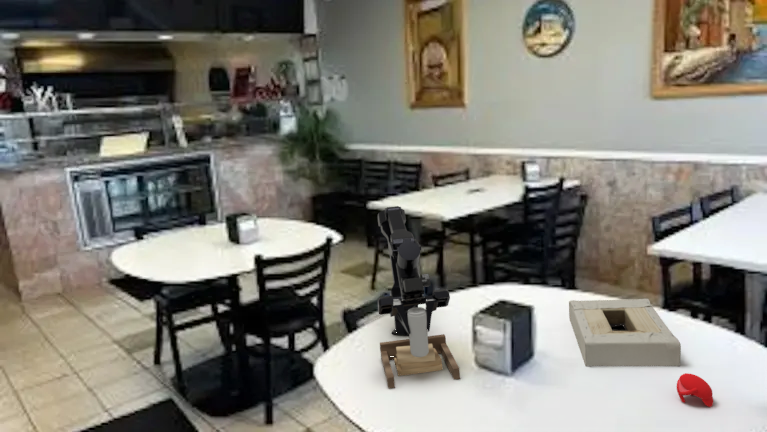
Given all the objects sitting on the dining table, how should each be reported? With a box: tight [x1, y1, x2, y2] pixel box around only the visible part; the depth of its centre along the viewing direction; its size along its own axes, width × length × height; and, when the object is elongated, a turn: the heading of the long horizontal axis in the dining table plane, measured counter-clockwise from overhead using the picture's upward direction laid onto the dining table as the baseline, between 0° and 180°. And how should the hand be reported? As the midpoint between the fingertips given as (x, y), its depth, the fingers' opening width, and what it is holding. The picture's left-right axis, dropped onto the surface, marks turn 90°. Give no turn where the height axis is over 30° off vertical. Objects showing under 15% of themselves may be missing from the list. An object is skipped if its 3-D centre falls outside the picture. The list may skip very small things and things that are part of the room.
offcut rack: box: [379, 333, 461, 389], centre depth 160 cm, size 18×19×5 cm
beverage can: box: [407, 306, 429, 357], centre depth 153 cm, size 5×5×12 cm
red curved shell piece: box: [676, 372, 714, 408], centre depth 132 cm, size 8×6×6 cm
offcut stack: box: [393, 344, 443, 377], centre depth 161 cm, size 9×12×4 cm
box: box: [568, 298, 682, 367], centre depth 165 cm, size 23×8×32 cm
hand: (419, 332), depth 152 cm, fingers closed on beverage can, 5 cm apart
